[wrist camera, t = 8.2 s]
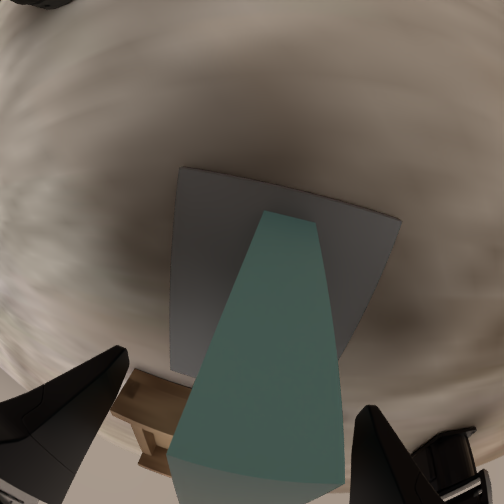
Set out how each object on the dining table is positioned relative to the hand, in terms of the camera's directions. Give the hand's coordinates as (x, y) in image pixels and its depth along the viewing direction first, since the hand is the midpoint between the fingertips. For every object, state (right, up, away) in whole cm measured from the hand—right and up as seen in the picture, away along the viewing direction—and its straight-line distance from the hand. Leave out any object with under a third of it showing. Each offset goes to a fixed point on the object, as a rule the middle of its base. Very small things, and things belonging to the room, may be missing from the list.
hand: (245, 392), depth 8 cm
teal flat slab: (+1, +2, +4) cm, 4 cm away
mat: (+1, +2, +4) cm, 5 cm away
